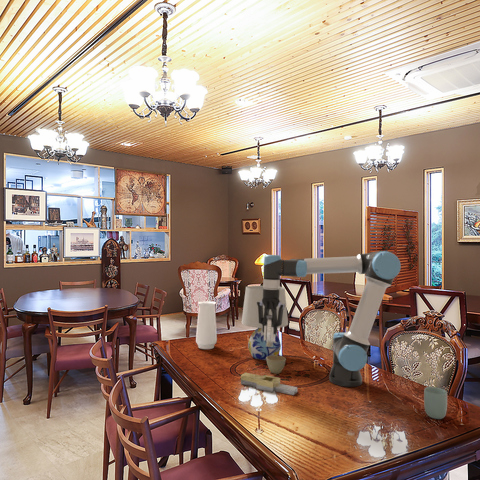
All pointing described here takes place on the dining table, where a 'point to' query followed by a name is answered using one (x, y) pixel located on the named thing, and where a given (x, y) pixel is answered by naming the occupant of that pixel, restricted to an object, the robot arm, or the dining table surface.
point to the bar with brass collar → (267, 383)
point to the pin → (269, 330)
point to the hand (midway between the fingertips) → (269, 340)
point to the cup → (435, 402)
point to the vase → (206, 325)
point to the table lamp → (252, 320)
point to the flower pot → (276, 363)
